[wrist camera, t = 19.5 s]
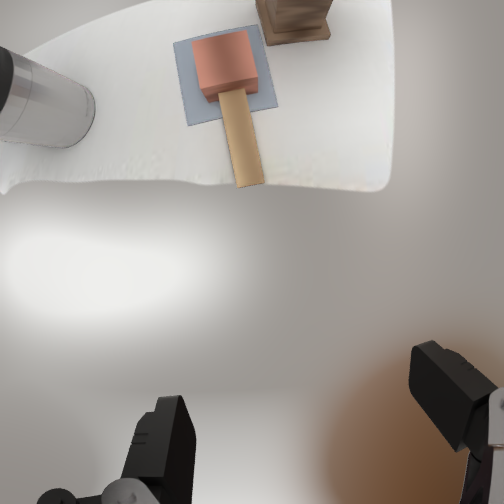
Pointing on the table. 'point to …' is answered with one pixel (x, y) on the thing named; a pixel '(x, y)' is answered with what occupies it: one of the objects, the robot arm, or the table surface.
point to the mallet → (232, 96)
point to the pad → (204, 111)
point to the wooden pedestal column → (293, 20)
